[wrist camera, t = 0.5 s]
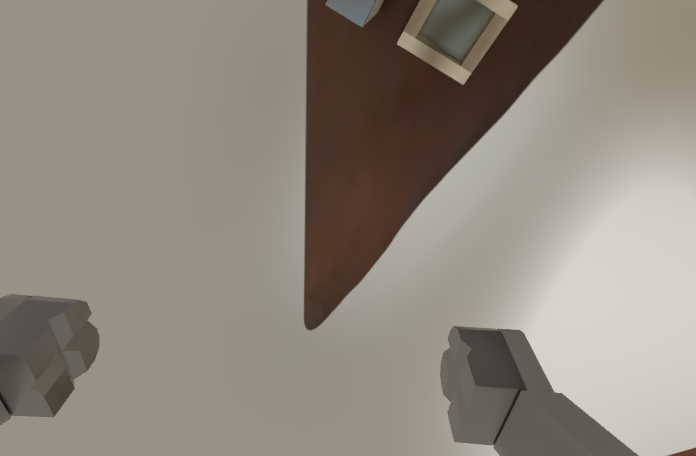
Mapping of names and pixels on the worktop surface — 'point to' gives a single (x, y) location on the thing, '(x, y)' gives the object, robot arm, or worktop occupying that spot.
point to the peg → (356, 9)
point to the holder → (455, 33)
